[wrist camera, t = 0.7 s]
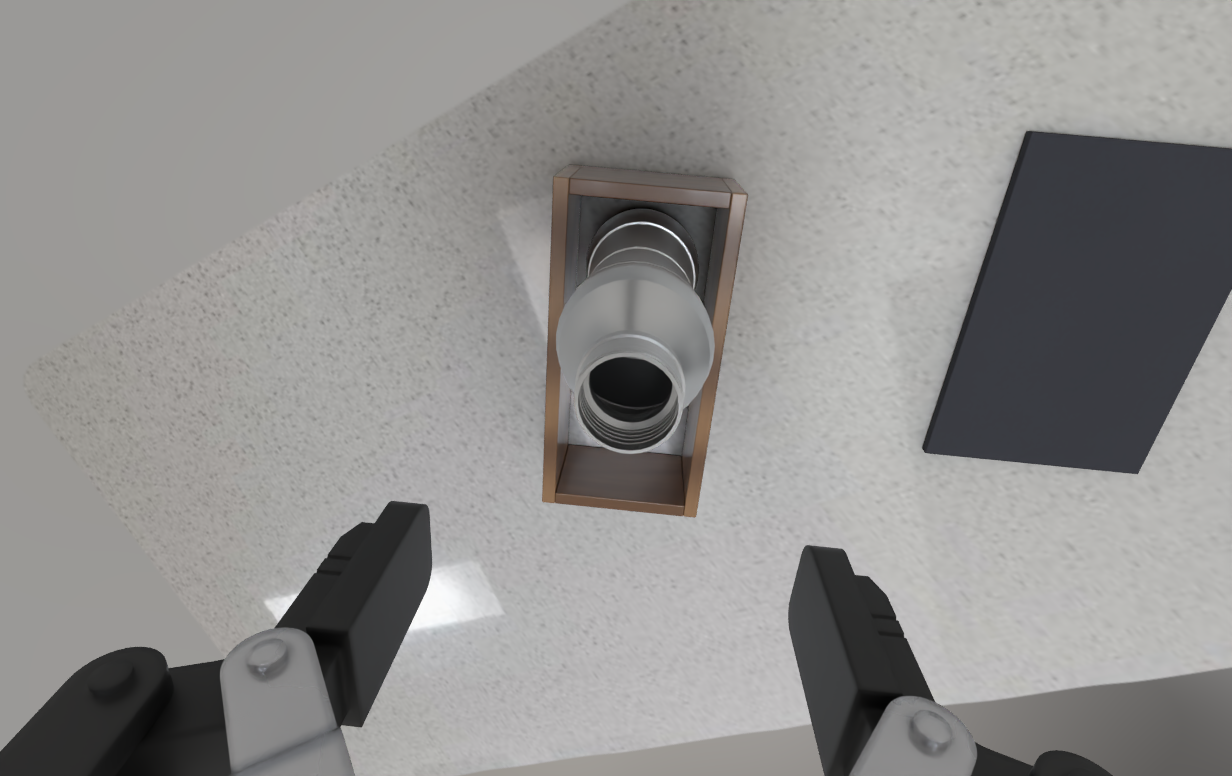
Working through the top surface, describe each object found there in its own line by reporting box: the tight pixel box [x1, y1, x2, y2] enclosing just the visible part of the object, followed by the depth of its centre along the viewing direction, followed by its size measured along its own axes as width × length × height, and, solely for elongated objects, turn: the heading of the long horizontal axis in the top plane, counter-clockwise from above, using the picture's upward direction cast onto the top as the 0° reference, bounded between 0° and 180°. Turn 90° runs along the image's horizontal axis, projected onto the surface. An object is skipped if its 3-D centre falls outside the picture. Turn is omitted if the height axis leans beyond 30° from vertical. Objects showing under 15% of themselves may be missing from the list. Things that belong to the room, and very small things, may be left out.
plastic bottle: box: [556, 209, 715, 454], centre depth 29 cm, size 6×7×20 cm
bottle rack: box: [542, 165, 748, 517], centre depth 38 cm, size 19×10×6 cm, turn 176°
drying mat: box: [922, 131, 1232, 474], centre depth 38 cm, size 20×14×1 cm
